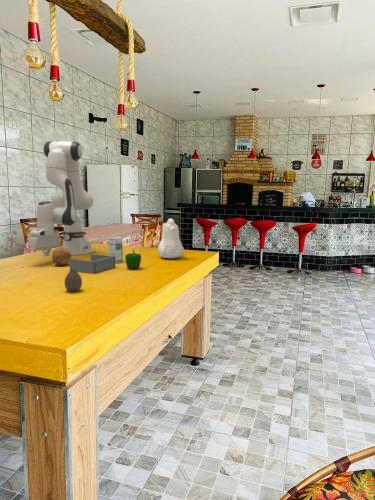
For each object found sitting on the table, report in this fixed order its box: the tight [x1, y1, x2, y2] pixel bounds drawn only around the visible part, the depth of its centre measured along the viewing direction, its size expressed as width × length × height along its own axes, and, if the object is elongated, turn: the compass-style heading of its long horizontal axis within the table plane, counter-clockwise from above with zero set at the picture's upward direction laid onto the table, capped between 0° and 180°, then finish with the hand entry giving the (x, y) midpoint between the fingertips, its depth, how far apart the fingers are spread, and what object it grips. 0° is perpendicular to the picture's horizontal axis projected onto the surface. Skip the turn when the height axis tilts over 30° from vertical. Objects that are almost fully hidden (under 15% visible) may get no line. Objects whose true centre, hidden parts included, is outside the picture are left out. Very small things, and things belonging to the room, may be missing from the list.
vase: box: [64, 269, 83, 293], centre depth 158 cm, size 7×7×9 cm
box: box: [69, 253, 116, 275], centre depth 202 cm, size 18×15×6 cm
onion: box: [51, 246, 72, 266], centre depth 210 cm, size 10×10×10 cm
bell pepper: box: [124, 249, 142, 270], centre depth 205 cm, size 8×8×10 cm
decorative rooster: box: [157, 218, 185, 259], centre depth 241 cm, size 25×16×25 cm, turn 5°
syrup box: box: [107, 236, 124, 264], centre depth 222 cm, size 6×6×14 cm
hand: (46, 256), depth 214 cm, fingers closed
